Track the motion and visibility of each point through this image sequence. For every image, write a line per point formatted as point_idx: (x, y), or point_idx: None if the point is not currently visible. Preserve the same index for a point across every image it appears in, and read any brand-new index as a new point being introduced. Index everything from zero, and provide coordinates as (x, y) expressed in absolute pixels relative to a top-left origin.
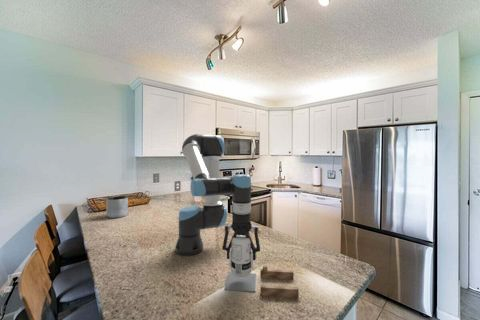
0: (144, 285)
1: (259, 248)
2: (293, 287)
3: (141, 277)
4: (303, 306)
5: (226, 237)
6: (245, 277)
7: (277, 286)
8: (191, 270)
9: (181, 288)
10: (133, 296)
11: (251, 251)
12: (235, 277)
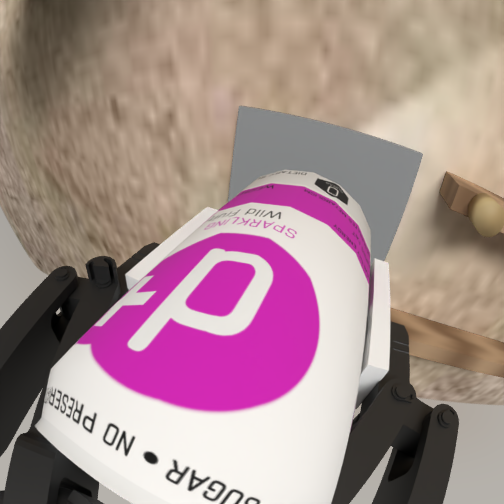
0: (25, 187)
1: (412, 464)
2: (499, 367)
3: (9, 151)
4: (479, 381)
5: (23, 403)
6: (345, 181)
7: (452, 354)
8: (79, 93)
9: (88, 212)
10: (32, 226)
11: (359, 383)
12: (280, 170)
